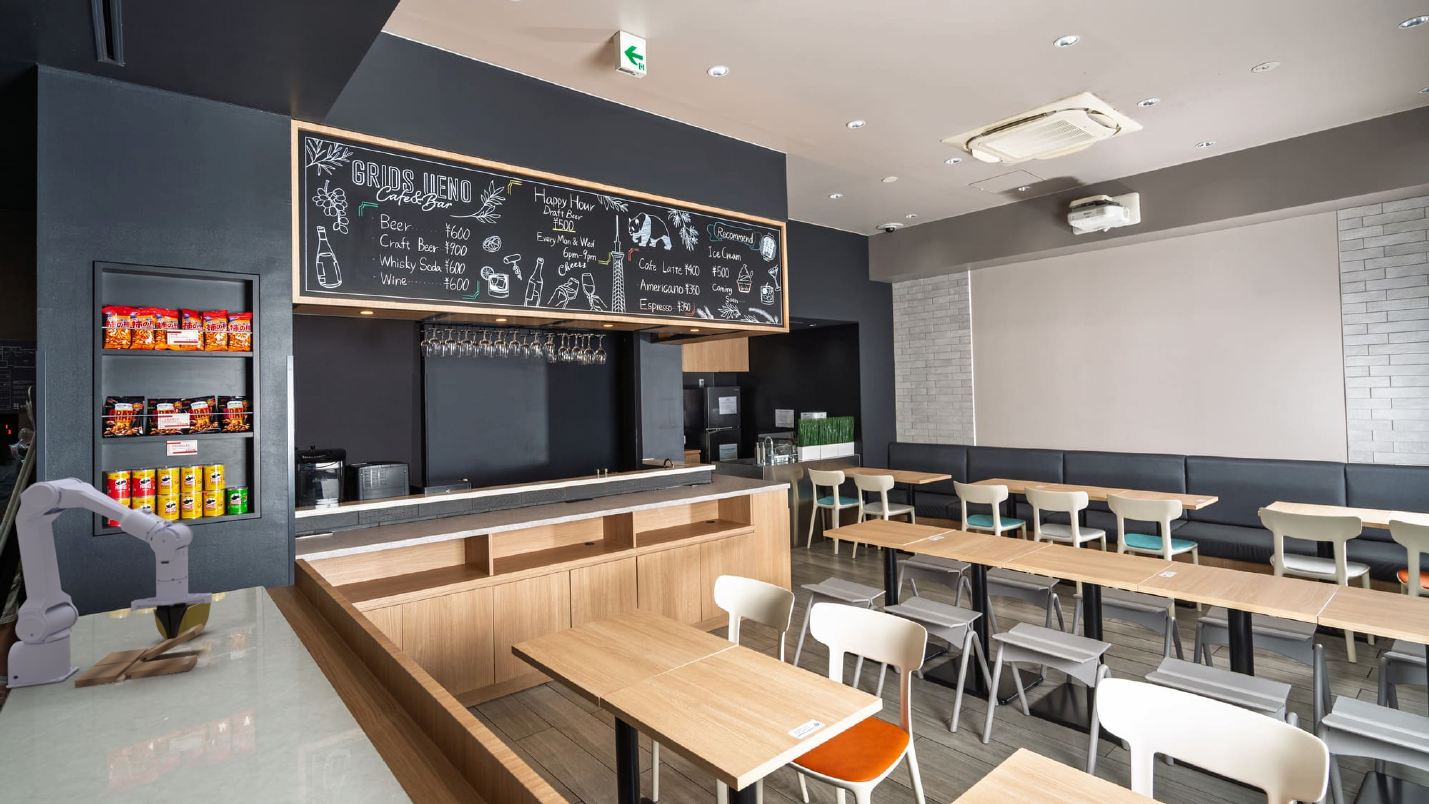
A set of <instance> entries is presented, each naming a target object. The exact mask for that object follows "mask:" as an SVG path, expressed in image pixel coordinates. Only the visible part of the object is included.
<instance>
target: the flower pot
mask: <svg viewBox="0 0 1429 804" xmlns="http://www.w3.org/2000/svg"><path fill="white" fill-rule="evenodd" d="M211 602H212V601H211ZM211 602H210V603H206V604H204V603H198V604H189V607H188V609H187V611H186V613H185V614H184V617H183V619H182V621H181V624H180V627H179V632H178V635H179V634H181V633H183V632H185V631H187V630H189V629H191V628H193V627H195V626H197V625H199V624H201V623H202V625H203V627H204V628H205V626H206V625H207V623H208V622H209V621H208V620H209V617H210V613H211V612H210V611H211V604H212V603H211ZM156 609H157V608H152V610H153V615H154V621H155V625H156V627H157V628H156V629H157V631H158V632H159V634H160V635H161V636H162V638H164V640H165V641H166V640H169V639H167V635H166V632H165V629H164V627H163V625H162V623H161V621H160V620H159V619H158V617H157V616H156V615H155V611H156ZM201 633H202V631H201V632H200V633H199V634H198V635H200V634H201Z"/></svg>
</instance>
